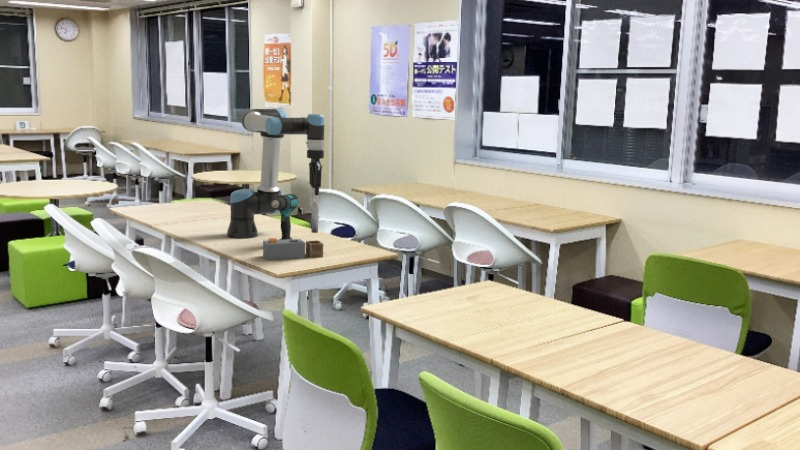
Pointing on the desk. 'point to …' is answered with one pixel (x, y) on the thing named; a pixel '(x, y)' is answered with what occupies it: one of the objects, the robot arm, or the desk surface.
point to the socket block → (284, 249)
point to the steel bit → (314, 217)
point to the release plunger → (272, 240)
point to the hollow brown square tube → (314, 248)
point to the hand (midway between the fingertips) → (315, 201)
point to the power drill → (285, 212)
